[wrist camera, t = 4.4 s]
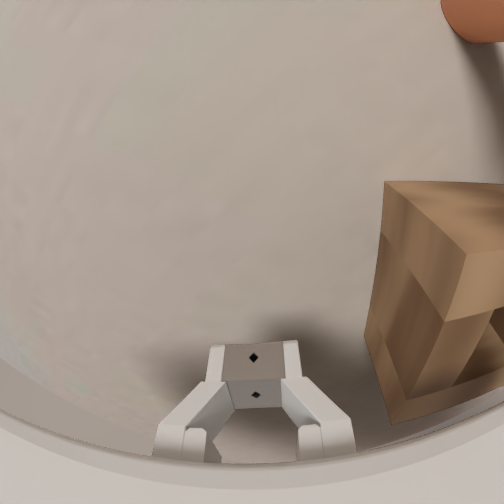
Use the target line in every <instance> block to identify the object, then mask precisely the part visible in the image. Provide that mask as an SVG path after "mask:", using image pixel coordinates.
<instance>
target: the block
mask: <svg viewBox="0 0 504 504" xmlns="http://www.w3.org/2000/svg"><path fill="white" fill-rule="evenodd" d="M364 338H365V340H366V343H367V346H368V349H369V352H370V355H371V358H372V361H373V364H374V368H375V371H376V374H377V377H378V380H379V384H380V387H381V390H382V394H383V397H384V400H385V404H386V407H387V411H388V414H389V418H390V422H391V425H393V424H397V423H401V422H405V421H409V420H412V419H416V418H419V417H423V416H426V415H429V414H432V413H435V412H438V411H441V410H444V409H447V408H450V407H453V406H455V405H458V404H461V403H463V402H466V401H468V400H471V399H473V398H476V397H478V396H480V395H483V394H485V393H487V392H489V391H492V390H494V389H496V388H498V387H500V386H502V385H504V185H503V184H488V183H468V182H436V181H385V183H384V199H383V212H382V224H381V234H380V243H379V251H378V259H377V266H376V273H375V279H374V286H373V292H372V297H371V303H370V308H369V314H368V319H367V324H366V328H365V333H364Z"/></svg>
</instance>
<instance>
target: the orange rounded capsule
mask: <svg viewBox="0 0 504 504" xmlns="http://www.w3.org/2000/svg"><path fill="white" fill-rule="evenodd" d="M441 7H442V10H443V13H444V15H445V17H446V19H447V21H448V22H449V24H450V25H451V27H452V28H453V29H454V30H455V32H456V33H457V34H458V35H460V36H461V37H462V38H463V39H465V40H467V41H469V42H471V43H490V42H504V0H441Z"/></svg>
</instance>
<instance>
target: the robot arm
mask: <svg viewBox="0 0 504 504" xmlns="http://www.w3.org/2000/svg"><path fill="white" fill-rule="evenodd" d="M268 407H282V408H283V409H284V411H285V412H286V413H287V415H288V416H289V417H290V418H291V420H292V421H293V422H294V423H295V425H296V426H297V427H298V439H297V453H296V458H297V461H294V462H280V463H257V464H230V463H221V458H222V457H221V455H220V454H219V452H218V450H217V449H216V447H215V445H214V444H213V442H212V441H213V440H214V438H215V437H216V436H217V434H218V433H219V432H220V430H221V429H222V427H223V426H224V425H225V423H226V422H227V421H228V419H229V418H230V416H231V415H232V414H233V412H234V411H235V409H245V408H268ZM0 504H504V401H503V402H501V403H499V404H497V405H495V406H493V407H491V408H489V409H487V410H485V411H483V412H481V413H479V414H477V415H474V416H472V417H470V418H468V419H465V420H463V421H461V422H458V423H456V424H453V425H451V426H448V427H445V428H443V429H440V430H437V431H434V432H432V433H429V434H426V435H423V436H420V437H416V438H413V439H410V440H407V441H403V442H400V443H396V444H393V445H389V446H384V447H381V448H377V449H372V450H368V451H363V452H358V453H357V450H356V444H355V439H354V434H353V429H352V424H351V419H350V417H348V416H347V415H346V414H345V413H344V412H343V411H342V410H341V409H340V408H339V407H338V406H337V405H336V404H335V403H334V402H333V401H332V400H331V399H329V398H328V397H327V396H326V395H325V394H324V393H323V392H322V391H321V390H320V389H319V388H318V387H317V386H316V385H315V384H314V383H313V382H312V381H311V380H310V379H309V378H308V377H303V375H302V368H301V360H300V353H299V345H298V341H297V340H290V341H283V343H282V341H277V342H265V343H254V344H226V345H212V346H211V348H210V354H209V360H208V366H207V373H206V379H205V381H202V382H200V383H199V384H198V385H197V386H196V387H195V388H194V389H193V390H192V391H191V392H190V393H189V394H188V395H187V396H186V397H185V398H184V399H183V400H182V401H181V402H180V403H179V404H178V405H177V406H176V407H175V408H174V409H173V410H172V411H171V412H170V413H169V414H168V415H167V416H166V417H165V418H164V419H163V420H162V421H161V422H160V423H159V425H158V430H157V434H156V439H155V443H154V448H153V452H152V456H146V455H139V454H134V453H129V452H124V451H120V450H115V449H111V448H107V447H102V446H99V445H95V444H91V443H88V442H84V441H81V440H77V439H74V438H71V437H68V436H65V435H62V434H59V433H56V432H53V431H50V430H48V429H45V428H42V427H40V426H37V425H35V424H32V423H30V422H27V421H25V420H23V419H20V418H18V417H16V416H14V415H12V414H9V413H7V412H5V411H3V410H1V409H0Z"/></svg>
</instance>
